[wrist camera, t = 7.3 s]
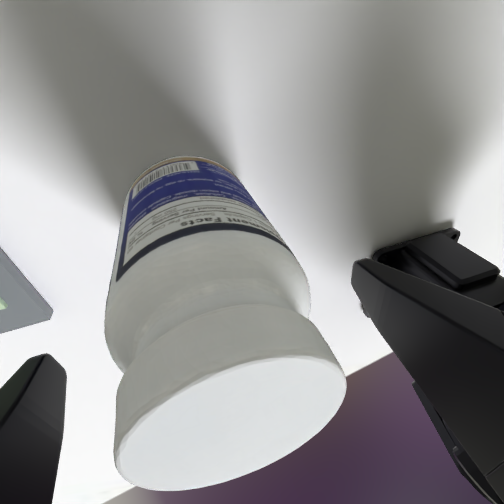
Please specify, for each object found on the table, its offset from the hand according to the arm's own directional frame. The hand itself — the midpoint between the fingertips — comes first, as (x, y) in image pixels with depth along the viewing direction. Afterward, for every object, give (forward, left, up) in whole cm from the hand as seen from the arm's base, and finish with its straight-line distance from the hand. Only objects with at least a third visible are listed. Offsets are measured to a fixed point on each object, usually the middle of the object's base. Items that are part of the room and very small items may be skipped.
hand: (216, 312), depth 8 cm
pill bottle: (0, 0, -7) cm, 7 cm away
